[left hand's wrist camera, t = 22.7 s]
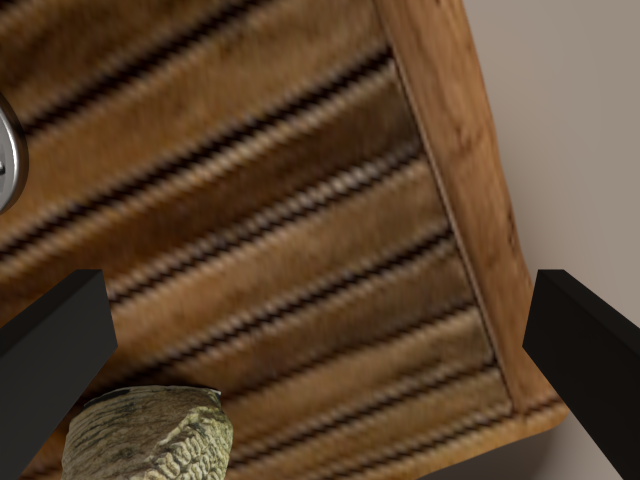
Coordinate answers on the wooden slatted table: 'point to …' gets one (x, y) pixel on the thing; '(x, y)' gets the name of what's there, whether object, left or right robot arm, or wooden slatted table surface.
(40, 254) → the wooden slatted table surface
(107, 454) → the fossil
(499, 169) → the wooden slatted table surface
